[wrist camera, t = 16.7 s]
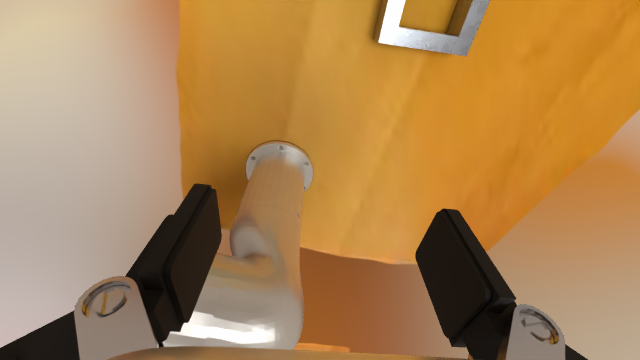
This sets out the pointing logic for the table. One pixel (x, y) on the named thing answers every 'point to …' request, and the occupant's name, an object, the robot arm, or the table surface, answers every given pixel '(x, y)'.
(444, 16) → the table surface
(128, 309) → the robot arm
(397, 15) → the holder
